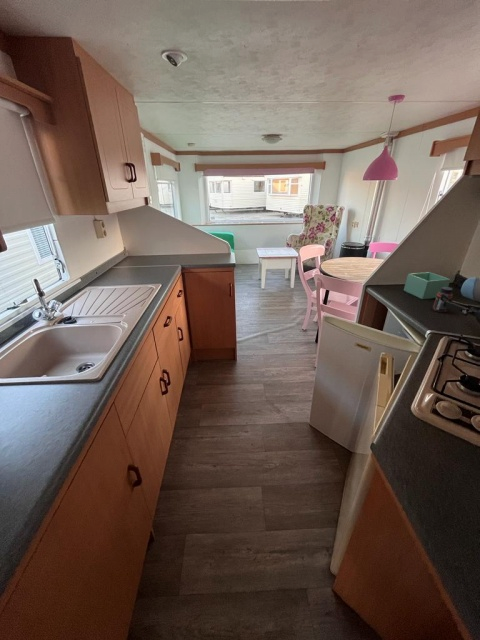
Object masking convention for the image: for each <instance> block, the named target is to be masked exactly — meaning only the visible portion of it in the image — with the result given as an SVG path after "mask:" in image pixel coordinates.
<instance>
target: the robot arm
mask: <svg viewBox="0 0 480 640" xmlns="http://www.w3.org/2000/svg"><path fill="white" fill-rule="evenodd" d="M460 293H461V296H463V297H464V298H467V299H469V300H472V301H474V302H476V303H478V304H479V305H475V304H471V303H469V304H467V303H463V302H460V301H456V300H453V298H452V299H451V298H449V297H448V296H446V295H445V294H442V295H441V298H440V300H441V301H442V302H444V303H443V307H446V308H448V310H451V311H453V312H456V313H459V314H461V315H462V316H464V317H468V315H471V316H473V317H475V320H476V322H477V323H478V324H480V277H476V276H471V277H469V278H467V279H465V281H464V282H463V284H462V286H461V288H460Z"/></svg>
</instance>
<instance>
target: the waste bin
mask: <svg viewBox="0 0 480 640" xmlns="http://www.w3.org/2000/svg"><path fill="white" fill-rule="evenodd" d="M450 283H451V279H450V278H448V277H445V276H442V275H439V274H436V273H434V272H431V271H426V272H425V271H424V272H414V273H413V272H412V273H408V274H407V275H406V280H405V284H404V288H403V291H404V292H406V293H407V294H411V295H412V296H415V297H417V298H419V299H421V300H428V299H436V296H437V293H438V292H439V291H441V289H442V287H449V285H450Z"/></svg>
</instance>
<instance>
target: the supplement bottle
mask: <svg viewBox="0 0 480 640" xmlns="http://www.w3.org/2000/svg"><path fill="white" fill-rule="evenodd" d="M442 294H445V295H446V296H448V297H449V298H451V299H453V297H454V294H453V287H449V286H448V287H442V289H441V291H439V292H438V293H437V296H436V298H434V299H435V300H434V302H433V305H432V310H433V311H434V312H437V313H442V314H444V313H447V312H448V311H449V309H448V308H446V307H443V303H444V302H442V301H441V300H440V298H441V295H442Z"/></svg>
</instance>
